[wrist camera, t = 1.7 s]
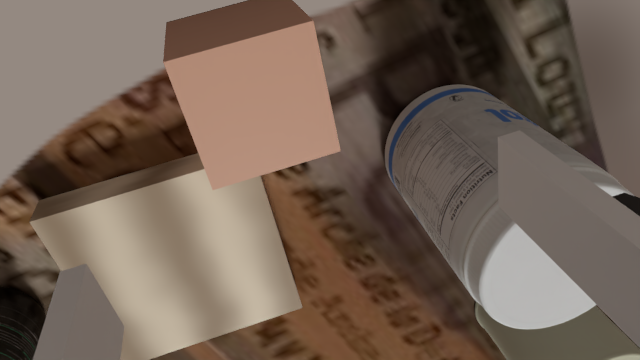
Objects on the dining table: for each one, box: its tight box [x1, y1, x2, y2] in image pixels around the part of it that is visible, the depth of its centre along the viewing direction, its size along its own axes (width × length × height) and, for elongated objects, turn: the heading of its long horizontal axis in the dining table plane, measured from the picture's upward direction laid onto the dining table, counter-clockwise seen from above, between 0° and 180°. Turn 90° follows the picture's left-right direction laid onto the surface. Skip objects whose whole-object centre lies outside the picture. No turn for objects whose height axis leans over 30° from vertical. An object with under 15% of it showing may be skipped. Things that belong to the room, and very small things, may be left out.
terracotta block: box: [163, 0, 341, 190], centre depth 28 cm, size 7×7×8 cm
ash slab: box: [30, 153, 302, 360], centre depth 36 cm, size 14×14×3 cm
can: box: [475, 301, 640, 360], centre depth 43 cm, size 9×9×12 cm
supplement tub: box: [385, 84, 634, 329], centre depth 31 cm, size 10×10×15 cm
